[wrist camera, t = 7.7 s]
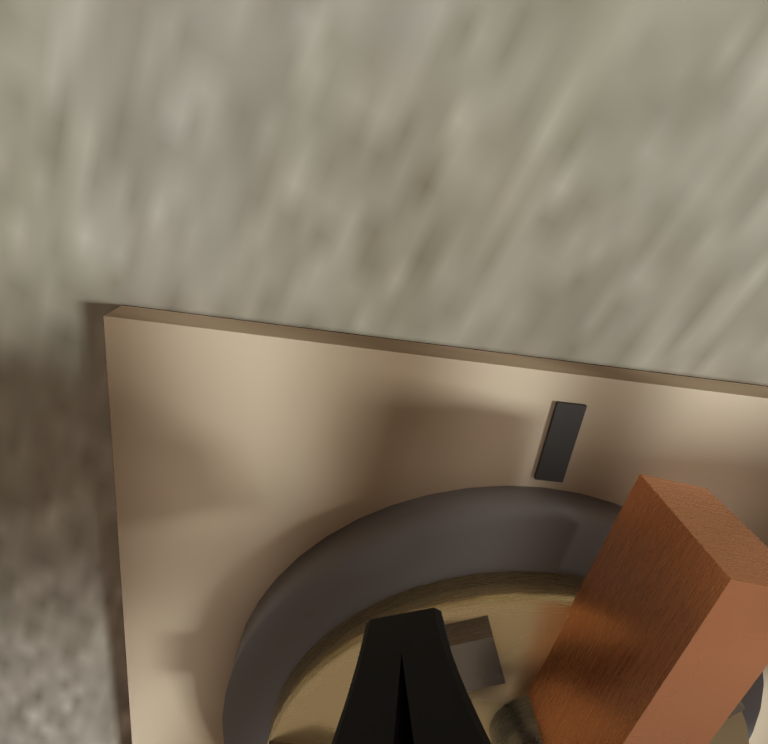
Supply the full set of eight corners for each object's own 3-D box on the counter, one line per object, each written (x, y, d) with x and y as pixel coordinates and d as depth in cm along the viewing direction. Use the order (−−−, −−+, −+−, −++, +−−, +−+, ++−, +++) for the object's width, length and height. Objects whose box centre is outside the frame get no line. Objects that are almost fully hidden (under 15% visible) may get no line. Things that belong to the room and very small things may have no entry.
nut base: (958, 410, 15) (1064, 455, 13) (674, 866, 24) (706, 941, 22) (121, 305, 13) (69, 334, 11) (150, 839, 22) (124, 917, 20)
